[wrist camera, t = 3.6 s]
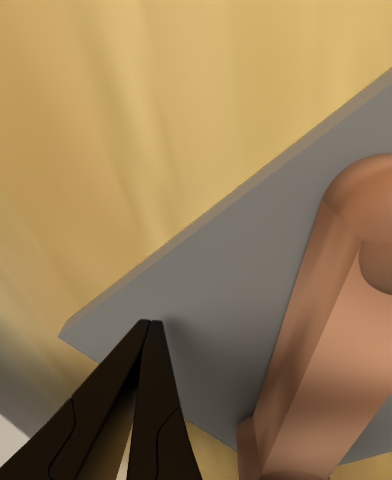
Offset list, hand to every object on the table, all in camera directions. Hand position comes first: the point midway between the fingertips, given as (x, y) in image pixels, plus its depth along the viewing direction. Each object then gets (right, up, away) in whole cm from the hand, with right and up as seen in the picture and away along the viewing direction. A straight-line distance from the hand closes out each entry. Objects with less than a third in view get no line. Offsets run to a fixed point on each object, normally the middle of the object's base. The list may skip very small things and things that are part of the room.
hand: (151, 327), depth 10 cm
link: (+6, -2, +2) cm, 7 cm away
